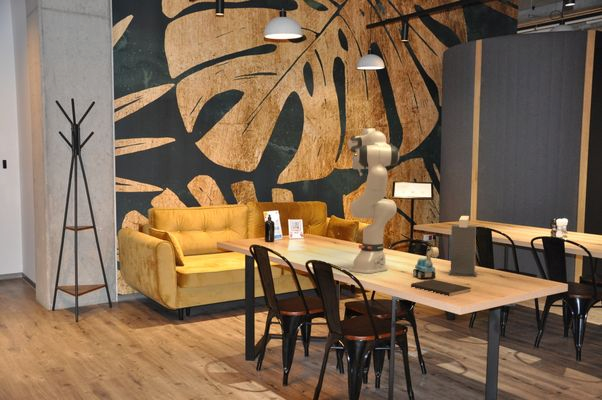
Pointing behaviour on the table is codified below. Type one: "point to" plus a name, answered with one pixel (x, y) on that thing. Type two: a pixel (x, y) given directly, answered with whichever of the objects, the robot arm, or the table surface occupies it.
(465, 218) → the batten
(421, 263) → the toy excavator
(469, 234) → the stand
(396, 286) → the table surface
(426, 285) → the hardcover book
